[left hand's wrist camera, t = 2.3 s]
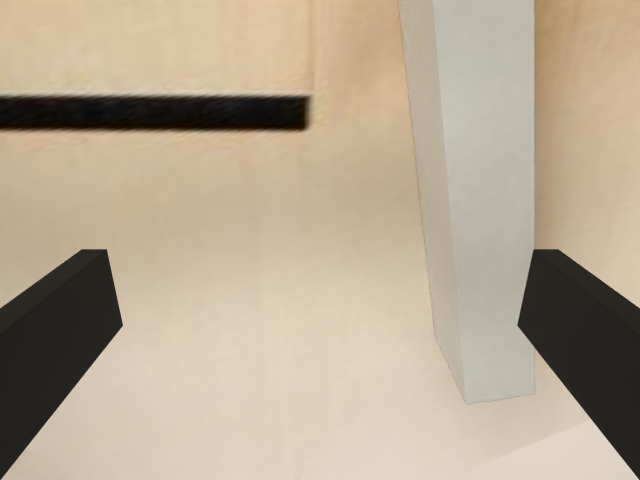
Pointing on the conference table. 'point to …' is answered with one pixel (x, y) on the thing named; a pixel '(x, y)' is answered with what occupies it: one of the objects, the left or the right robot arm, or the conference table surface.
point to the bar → (476, 181)
